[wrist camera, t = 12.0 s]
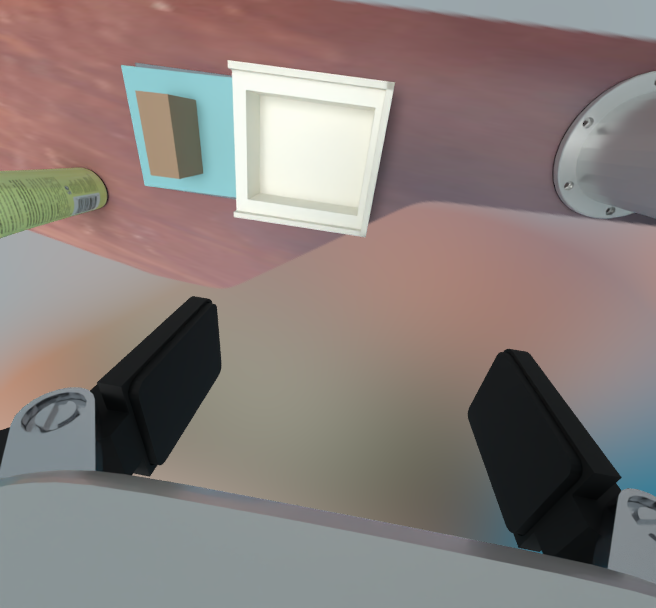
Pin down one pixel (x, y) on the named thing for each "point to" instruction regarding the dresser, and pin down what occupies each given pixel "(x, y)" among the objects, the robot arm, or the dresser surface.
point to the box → (307, 146)
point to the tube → (46, 196)
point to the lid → (183, 129)
